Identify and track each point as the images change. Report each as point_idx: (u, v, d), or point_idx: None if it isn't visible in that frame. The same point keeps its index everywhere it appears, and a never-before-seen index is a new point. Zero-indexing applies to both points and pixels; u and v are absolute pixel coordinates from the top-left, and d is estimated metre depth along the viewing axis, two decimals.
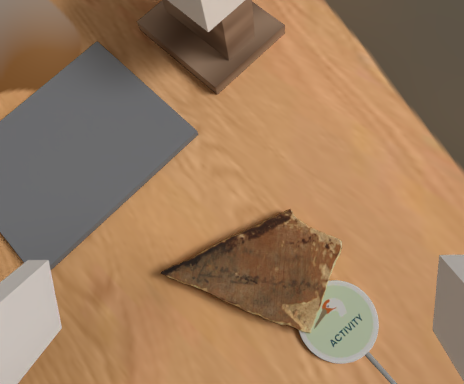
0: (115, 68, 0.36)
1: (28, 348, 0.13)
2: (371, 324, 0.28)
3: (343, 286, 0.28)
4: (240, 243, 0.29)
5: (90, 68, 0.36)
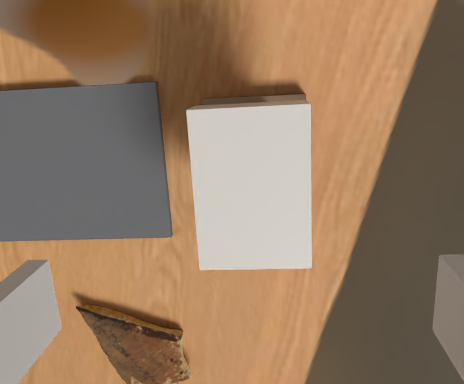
0: (150, 127, 0.34)
1: (28, 348, 0.13)
2: None
3: None
4: (135, 331, 0.39)
5: (131, 106, 0.34)
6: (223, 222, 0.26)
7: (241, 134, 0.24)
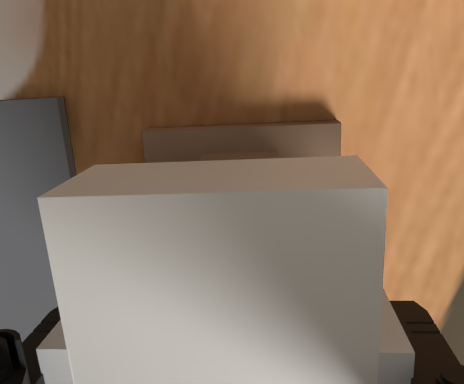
0: (54, 179, 0.19)
1: None
2: None
3: None
4: None
5: (16, 142, 0.18)
6: None
7: (191, 262, 0.09)
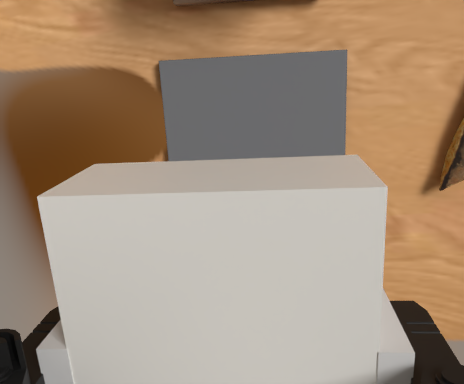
0: (208, 69, 0.30)
1: None
2: None
3: None
4: None
5: (186, 91, 0.30)
6: None
7: (191, 262, 0.09)
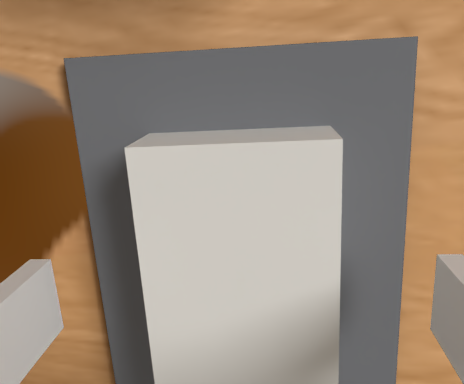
0: (155, 73, 0.16)
1: (31, 347, 0.13)
2: None
3: None
4: None
5: (117, 113, 0.17)
6: (192, 329, 0.16)
7: (221, 189, 0.14)
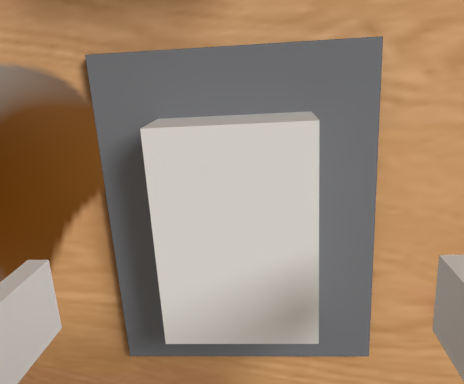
0: (163, 67, 0.19)
1: (28, 348, 0.13)
2: None
3: None
4: None
5: (130, 101, 0.20)
6: (196, 282, 0.19)
7: (220, 163, 0.17)
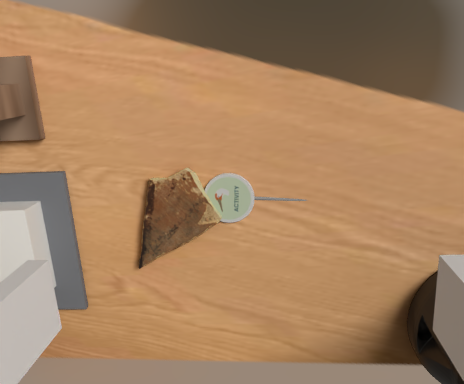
0: None
1: (28, 348, 0.13)
2: (244, 185, 0.43)
3: (215, 180, 0.43)
4: (150, 220, 0.44)
5: None
6: None
7: None
